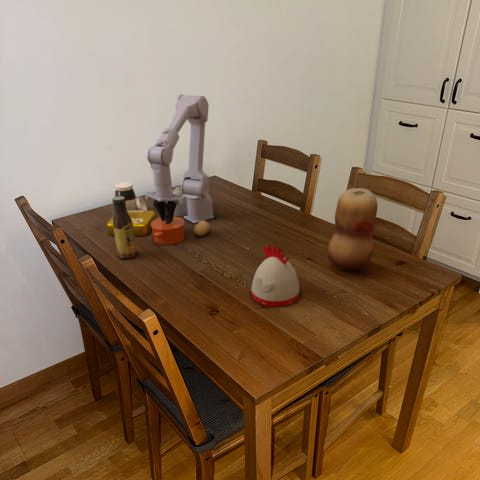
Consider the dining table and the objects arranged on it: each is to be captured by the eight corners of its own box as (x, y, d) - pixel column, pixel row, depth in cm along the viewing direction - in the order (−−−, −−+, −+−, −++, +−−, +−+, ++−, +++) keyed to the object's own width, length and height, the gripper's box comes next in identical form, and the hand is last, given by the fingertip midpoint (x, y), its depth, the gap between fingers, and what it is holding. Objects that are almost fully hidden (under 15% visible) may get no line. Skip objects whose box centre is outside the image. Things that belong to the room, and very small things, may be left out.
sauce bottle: (132, 260, 158) (123, 202, 146) (115, 258, 159) (104, 201, 147) (140, 251, 163) (131, 195, 152) (123, 250, 164) (113, 194, 153)
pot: (193, 231, 176) (192, 217, 173) (171, 249, 163) (169, 235, 160) (167, 227, 180) (165, 213, 177) (143, 245, 167) (141, 230, 164)
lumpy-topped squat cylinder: (165, 209, 195) (162, 188, 190) (192, 202, 201) (191, 182, 196) (176, 217, 188) (174, 196, 183) (204, 210, 193) (203, 189, 189)
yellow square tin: (157, 220, 185) (155, 208, 183) (147, 236, 173) (145, 224, 170) (120, 220, 187) (118, 208, 184) (107, 235, 174) (105, 223, 172)
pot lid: (190, 221, 171) (189, 209, 169) (174, 234, 162) (173, 222, 160) (162, 217, 175) (160, 205, 173) (144, 229, 166) (142, 217, 164)
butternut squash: (337, 281, 143) (346, 201, 128) (319, 262, 153) (325, 186, 139) (379, 274, 145) (391, 195, 131) (358, 256, 156) (368, 181, 142)
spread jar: (115, 210, 195) (110, 182, 189) (142, 205, 199) (138, 178, 193) (122, 220, 186) (117, 191, 180) (150, 215, 190) (146, 186, 184)
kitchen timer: (270, 277, 146) (271, 232, 137) (308, 291, 138) (311, 244, 130) (241, 296, 137) (240, 248, 128) (280, 311, 129) (282, 262, 121)
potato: (200, 229, 177) (200, 218, 174) (212, 231, 176) (211, 219, 173) (192, 237, 172) (191, 225, 169) (203, 238, 170) (202, 226, 168)
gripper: (138, 184, 160) (143, 222, 167) (176, 188, 155) (179, 227, 162) (149, 178, 165) (154, 215, 173) (186, 182, 160) (189, 220, 168)
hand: (167, 220), depth 168 cm, fingers closed on pot lid, 2 cm apart
